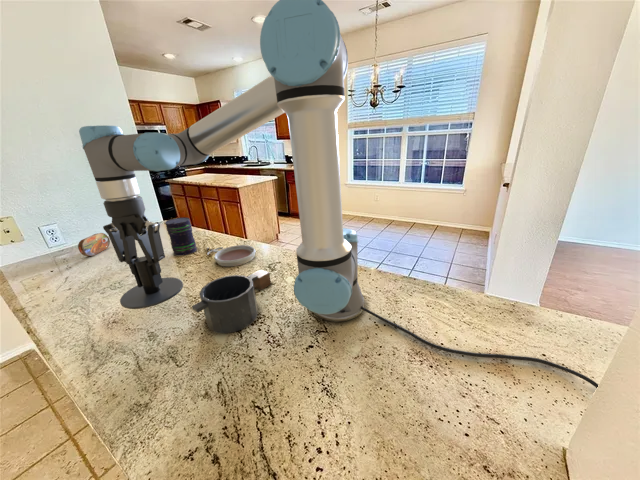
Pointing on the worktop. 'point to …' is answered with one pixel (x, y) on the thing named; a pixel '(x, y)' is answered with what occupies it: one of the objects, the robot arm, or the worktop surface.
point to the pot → (228, 303)
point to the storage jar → (181, 236)
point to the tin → (93, 244)
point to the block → (262, 279)
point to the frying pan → (233, 255)
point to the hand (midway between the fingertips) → (150, 284)
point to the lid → (149, 289)
